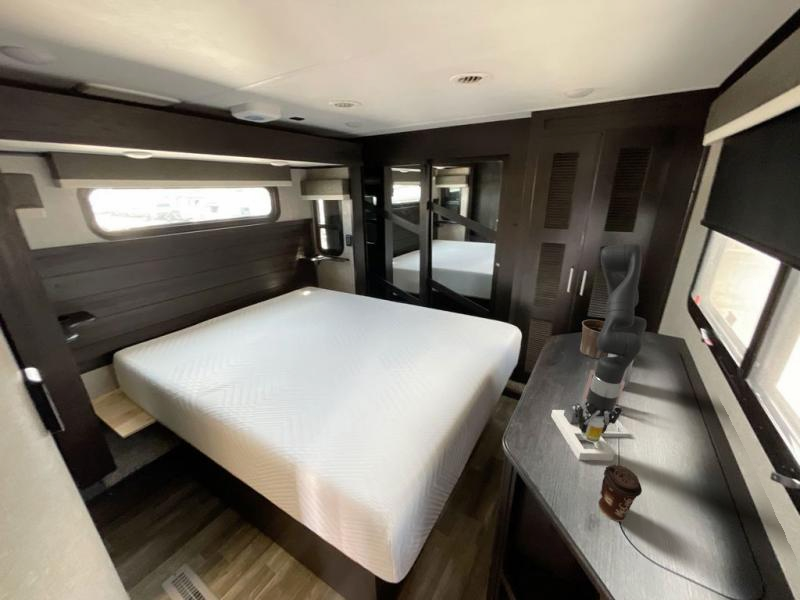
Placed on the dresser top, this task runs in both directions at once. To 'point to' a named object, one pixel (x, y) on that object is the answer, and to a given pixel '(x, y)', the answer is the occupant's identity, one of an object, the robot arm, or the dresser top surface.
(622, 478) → the coffee cup
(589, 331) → the plant pot
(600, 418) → the supplement bottle
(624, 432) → the tray
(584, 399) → the greeting card
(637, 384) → the dresser top surface
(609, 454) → the white holder base
